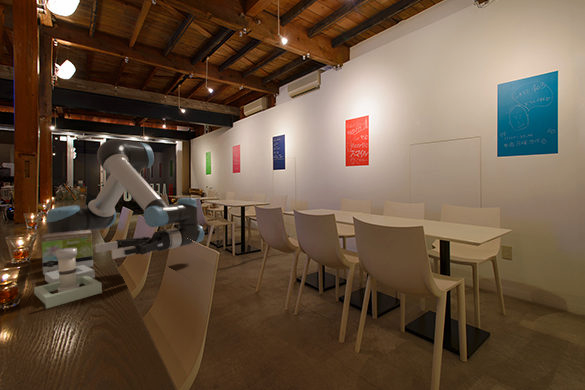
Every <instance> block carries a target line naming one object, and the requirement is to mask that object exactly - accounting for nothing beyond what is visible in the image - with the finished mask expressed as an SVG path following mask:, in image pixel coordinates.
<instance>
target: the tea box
mask: <svg viewBox="0 0 585 390" xmlns="http://www.w3.org/2000/svg"><path fill="white" fill-rule="evenodd" d="M64 248H77V255H76V256H75V259H76V266H81V265H85V266H87V267H89V268H92V267H94V253H93V252H94V251H93V232H92V231H90V230H82V231H70V232H59V233H48V232H47V233H43V234H42V236H41V259H42V263H41V265H42V275H44V276H45V273H48V272H52V271H57V270H59V265H58V259H57V258H56V254H55V251H56V250H59V249H64Z"/></svg>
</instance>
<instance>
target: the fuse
mask: <svg viewBox="0 0 585 390" xmlns="http://www.w3.org/2000/svg"><path fill="white" fill-rule="evenodd" d="M55 254H56V258H57V259H58V265H59V280H60V286H59V287H58V290H57V293H59V292H63V291H67V290H71V289H74V288H78V287H80V284H79V283H77V275H76V259H75V256H76V255H77V248H64V249H59V250H56V251H55Z"/></svg>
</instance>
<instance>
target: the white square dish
mask: <svg viewBox="0 0 585 390" xmlns="http://www.w3.org/2000/svg"><path fill="white" fill-rule="evenodd" d="M76 275H77V277H80V276H85V275H87V276H89V277H91V278H93V279H95V278H96V271H95V269H93V268H92V267H87V266H85V265H81V266H76ZM44 281H45V282H47V284H51V283H55V282H59V281H60V280H59V270H57V271H52V272H48V273H45V275H44Z"/></svg>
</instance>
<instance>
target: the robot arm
mask: <svg viewBox="0 0 585 390" xmlns="http://www.w3.org/2000/svg"><path fill="white" fill-rule="evenodd" d="M96 153H97V155H96V157H97V161H98V164H99V165H100V166H101V168H102V169H103V170H104V171H105V172H106V173H108V174H110V175H109V176H108V178H107V179H106V181H105V182H104V184H103V186H102V188H101V190H100V191H99V193H98V194H97V196H96V198H95V199H92V200H90V201H89V202H88V204H87V205H86V206H85V207H80V205H78V204H77V205H76V204H74V205H68V206H67V205H65V206H59V207H55V208H52V209H49V210H48V211H47V212H46V220H45V221H46V224H47V226H46V229H47V234H48V233H59V232H70V231H82V230H90V231H91V232H92V231H93V232H94V231H98V230H105V229H108V228H110V227H112V226H113V225H114V224H115V222H116V220H117V211H116V208H115V207H116V205H117V203H118V202H119V200H120V198H121V197H122V196H123V194H124V193H125V191H126V192H127V194H129V195H130V196H131V198H132V199H133V200H134V201H135V202H136V203H137V204H138V206H139V207H140V208H141V209H142V210H143V211H144V212H143V219H144V223H145V224H146V225H147V226H148V227H150V228H157V227H158V228H159V227H163V226H167V225H169V226H170V225H173V224H178V228H170V229H165V230H164V229H163V230H157V231H155V232H153V234H152V236H151V237H150V236H142V237H136V238H135V237H134V238H133V237H132V238H125V239H116V240H115V241H109V242H104V243H98V244H95V253H96V254H98V253H102V252H107V251H108V252H109V251H111V259H112V260H113V259H119V258H120V259H121V258H123V257H129V256H133V255H142V256H143V255H145V254H148V253H150V252H154V251H157V252H162V251H166V250H168V249H169V250H170V249H172V250H175V249H176V248H179V247H184V246H189V244H190V245H192V244H191V243H193V242H192V240H193V241H195V242H197V243H200V242H202V241H203V240H204V238H205V231H204V227H203V226H202V225H200V224H198V204H197V203H198V202H197V199H196V198H194V197H182V198H178V199H177V201H176V203H173V204H172V203H171V204H168V203H167V202H166V201H165V200H164V199H162V197H161V196H160V195H159V194H158V193H157V192H156V191H155V190H154V188H152V186H151V185H150V184H149V183H148V182H147V181H146V180H145V179H144V177H143V176H141V174H142V173H141V172H142V171H143V169H150V168H152V166H153V164H154V162H155V155H154V152H153V149H152V147H151V146H150V145H149V144H148V143H144V142H140V141H130V140H123V139H117V138H113V139H109V140H105V141H103V143H102V144H101V145H100V146H99V147H98V149H97V152H96ZM177 234H178V235H177ZM180 235H181V236H180ZM172 236H173V237H172ZM187 238H188V239H187ZM190 239H191V240H190ZM197 243H196V244H197Z"/></svg>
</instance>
